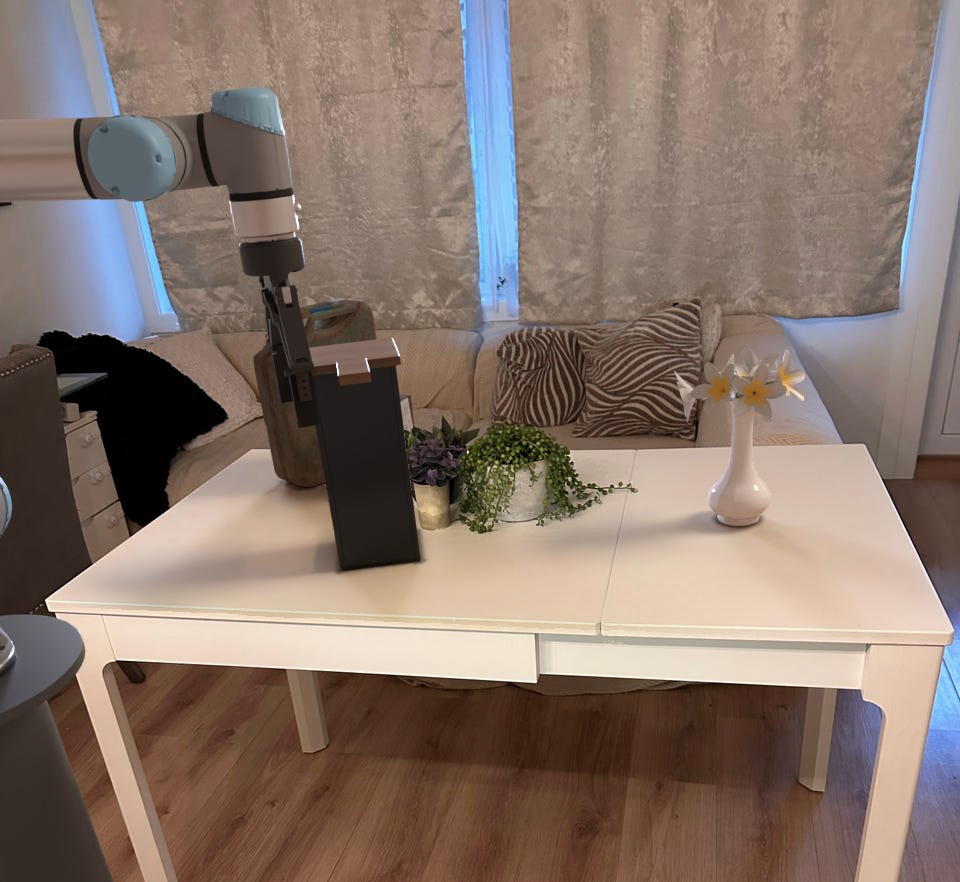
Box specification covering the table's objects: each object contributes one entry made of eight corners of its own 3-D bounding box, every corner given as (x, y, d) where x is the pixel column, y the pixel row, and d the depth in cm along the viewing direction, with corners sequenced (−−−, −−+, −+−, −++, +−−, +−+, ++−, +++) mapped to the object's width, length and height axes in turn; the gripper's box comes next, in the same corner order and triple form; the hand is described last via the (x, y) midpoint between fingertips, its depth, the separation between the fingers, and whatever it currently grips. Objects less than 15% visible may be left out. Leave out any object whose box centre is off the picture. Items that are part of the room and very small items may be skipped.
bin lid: (407, 383, 121) (405, 367, 120) (305, 396, 120) (302, 380, 119) (394, 351, 139) (392, 336, 138) (305, 362, 137) (302, 347, 136)
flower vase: (664, 511, 150) (665, 351, 138) (778, 498, 150) (789, 337, 138) (687, 543, 138) (690, 371, 126) (810, 529, 139) (825, 356, 127)
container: (367, 450, 192) (344, 295, 177) (398, 458, 185) (376, 298, 171) (272, 482, 179) (239, 318, 165) (302, 493, 172) (270, 323, 158)
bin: (420, 561, 141) (395, 365, 127) (340, 571, 141) (306, 375, 127) (416, 531, 152) (393, 346, 138) (342, 540, 151) (310, 356, 137)
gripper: (319, 242, 104) (348, 431, 114) (283, 226, 124) (310, 388, 135) (251, 250, 102) (286, 442, 112) (226, 233, 122) (257, 396, 133)
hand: (299, 413), depth 123 cm, fingers open, 13 cm apart
